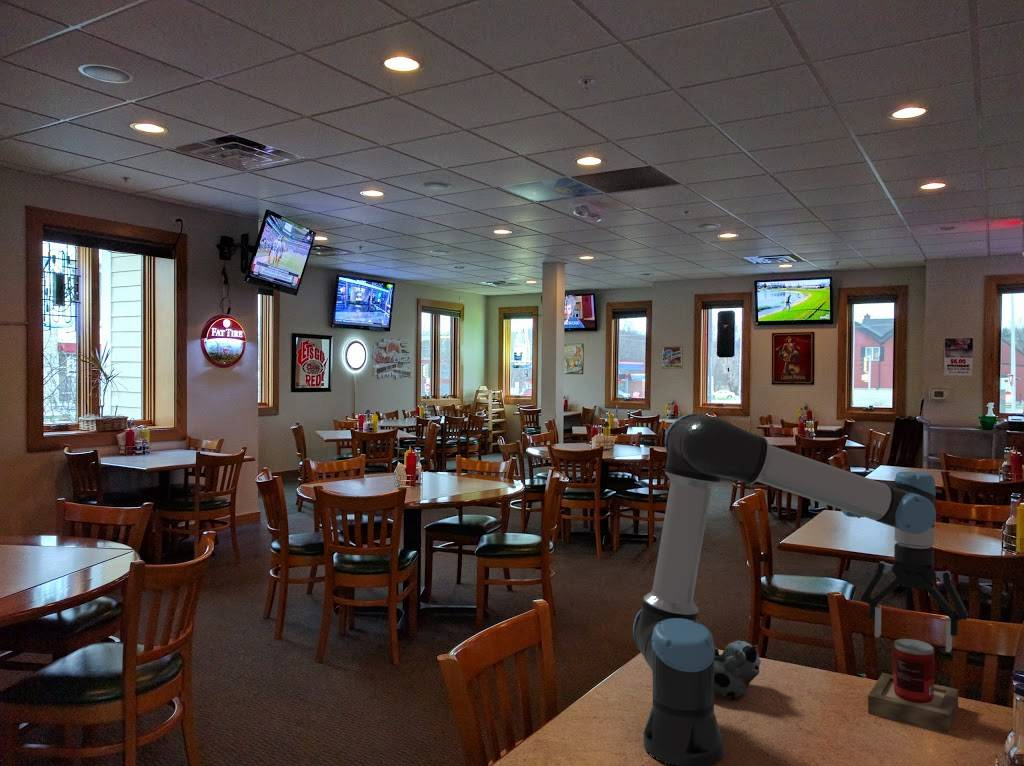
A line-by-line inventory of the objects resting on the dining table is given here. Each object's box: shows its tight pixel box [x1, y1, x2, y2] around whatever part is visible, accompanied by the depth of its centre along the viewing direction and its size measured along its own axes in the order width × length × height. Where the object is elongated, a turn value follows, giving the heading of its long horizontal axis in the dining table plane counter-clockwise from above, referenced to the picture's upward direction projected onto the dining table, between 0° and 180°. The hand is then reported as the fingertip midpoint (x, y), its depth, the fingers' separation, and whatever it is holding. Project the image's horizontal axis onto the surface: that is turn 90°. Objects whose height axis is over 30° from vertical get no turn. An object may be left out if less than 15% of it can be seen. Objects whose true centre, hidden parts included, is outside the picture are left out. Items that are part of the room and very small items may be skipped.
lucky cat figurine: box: [714, 640, 762, 702], centre depth 169 cm, size 15×12×14 cm
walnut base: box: [867, 672, 959, 734], centre depth 159 cm, size 15×15×4 cm
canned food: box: [893, 638, 935, 703], centre depth 159 cm, size 8×8×11 cm
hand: (912, 642), depth 159 cm, fingers open, 13 cm apart
